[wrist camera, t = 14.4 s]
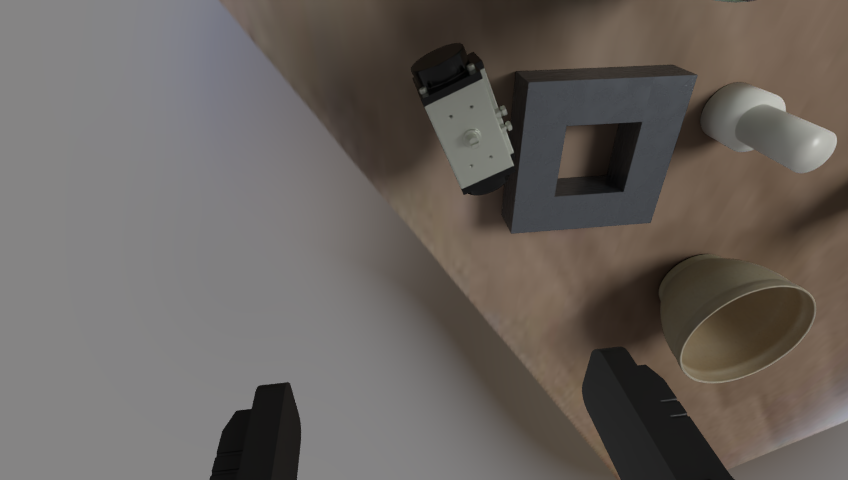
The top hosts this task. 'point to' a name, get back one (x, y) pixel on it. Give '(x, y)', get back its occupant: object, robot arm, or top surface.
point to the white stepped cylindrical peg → (765, 127)
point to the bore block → (586, 105)
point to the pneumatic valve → (465, 117)
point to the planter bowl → (731, 317)
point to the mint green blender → (735, 0)
